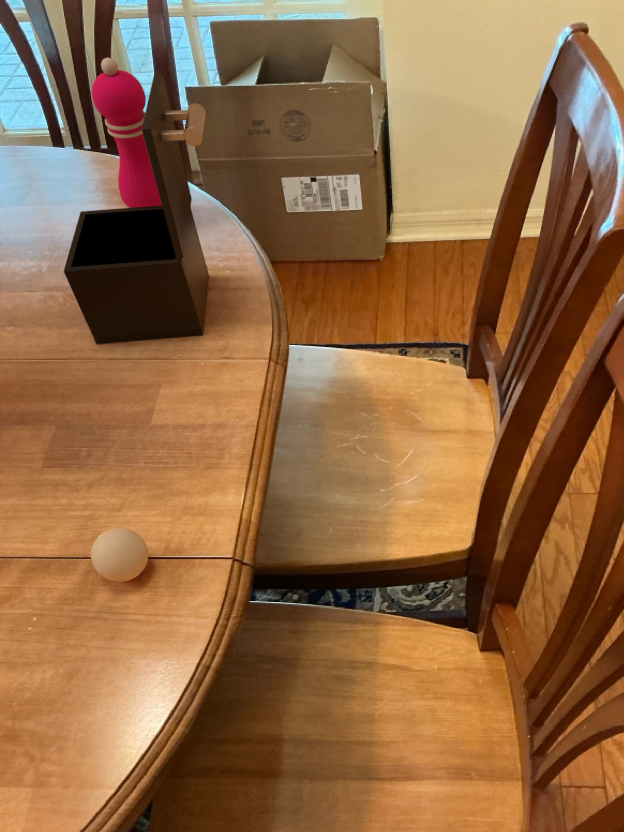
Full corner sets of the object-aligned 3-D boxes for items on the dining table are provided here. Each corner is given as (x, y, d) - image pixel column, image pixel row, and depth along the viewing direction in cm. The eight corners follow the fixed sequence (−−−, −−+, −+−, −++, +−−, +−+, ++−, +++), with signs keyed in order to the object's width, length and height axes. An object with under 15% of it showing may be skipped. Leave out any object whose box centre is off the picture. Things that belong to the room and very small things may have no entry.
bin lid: (141, 128, 70) (194, 126, 70) (154, 72, 77) (202, 70, 77) (176, 258, 81) (222, 256, 81) (184, 199, 88) (227, 197, 88)
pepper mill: (193, 223, 103) (148, 60, 86) (143, 242, 100) (87, 79, 84) (171, 199, 106) (124, 39, 90) (122, 217, 104) (65, 56, 88)
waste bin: (95, 344, 89) (63, 271, 81) (109, 283, 95) (80, 211, 88) (203, 335, 89) (181, 262, 81) (209, 275, 96) (189, 202, 88)
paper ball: (98, 594, 69) (78, 564, 65) (105, 550, 71) (87, 519, 68) (152, 589, 69) (135, 559, 65) (157, 545, 72) (141, 514, 68)
